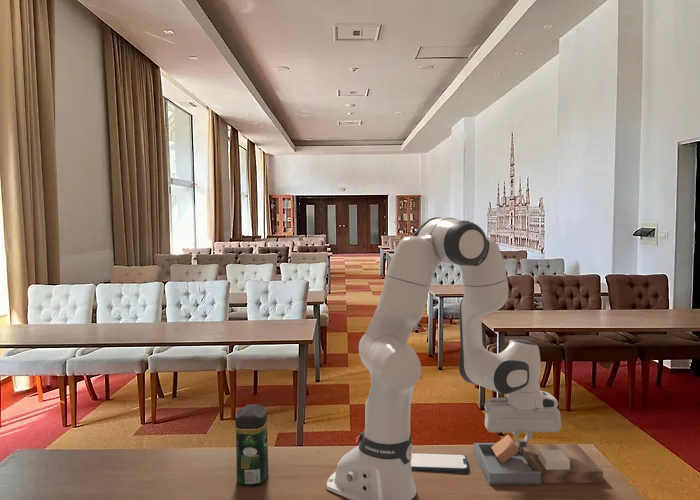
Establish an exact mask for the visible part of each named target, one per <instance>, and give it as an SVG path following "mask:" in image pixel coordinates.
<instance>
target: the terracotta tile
mask: <svg viewBox="0 0 700 500" xmlns="http://www.w3.org/2000/svg"><path fill="white" fill-rule="evenodd" d="M495 443H496V444H495V445H493V446H492V447H491V448H492V450H493V451H494V453H495V455H496V457H497V458H498V459H499V460H500V462H501V463H502V464H503V463H504V462H505V461H507V460H508V459H509V458H511V457H512V456H513V455H515V454H516V453H517V452H519V451H520V452H521V449H520V450H519V449H518V447H517V446H516V444H515V443H516V442H514V440H513V439H512V437H511V436H510V435H509V434H506V436H504V437H503V438H501V439H499V441H497V442H495Z"/></svg>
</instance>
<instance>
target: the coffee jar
mask: <svg viewBox="0 0 700 500" xmlns="http://www.w3.org/2000/svg"><path fill="white" fill-rule="evenodd" d="M234 418H235V419H234V420H235V421H234V422H235V426H234V428H235V446H236V447H235V448H236V450H235V451H236V452H235V453H236V456H235V459H236V481H237V483H238V484H240V485H244V486H250V487H251V486H256V485H259V484H263V483H264V482H265V481H266V480H267V477H268V474H269V448H268V444H269V443H268V442H269V441H268V412H267V408H266V407H264V406H263V405H262V404H246V405H245V406H243V407H242V408H240V409H238V411H237V413H236V415H235V417H234Z"/></svg>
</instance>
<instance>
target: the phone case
mask: <svg viewBox="0 0 700 500" xmlns="http://www.w3.org/2000/svg"><path fill="white" fill-rule="evenodd" d="M411 466H412V471H414V470H415V471H418V472H431V473H432V472H434V473H435V472H436V473H438V472H439V473H452V474H453V473H455V474H468V473H469V463H468V458H467V456H466V455H464V454H449V453H448V454H447V453H441V454H440V453H422V452H421V453H418V452H415V453H414V452H412V458H411Z"/></svg>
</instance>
